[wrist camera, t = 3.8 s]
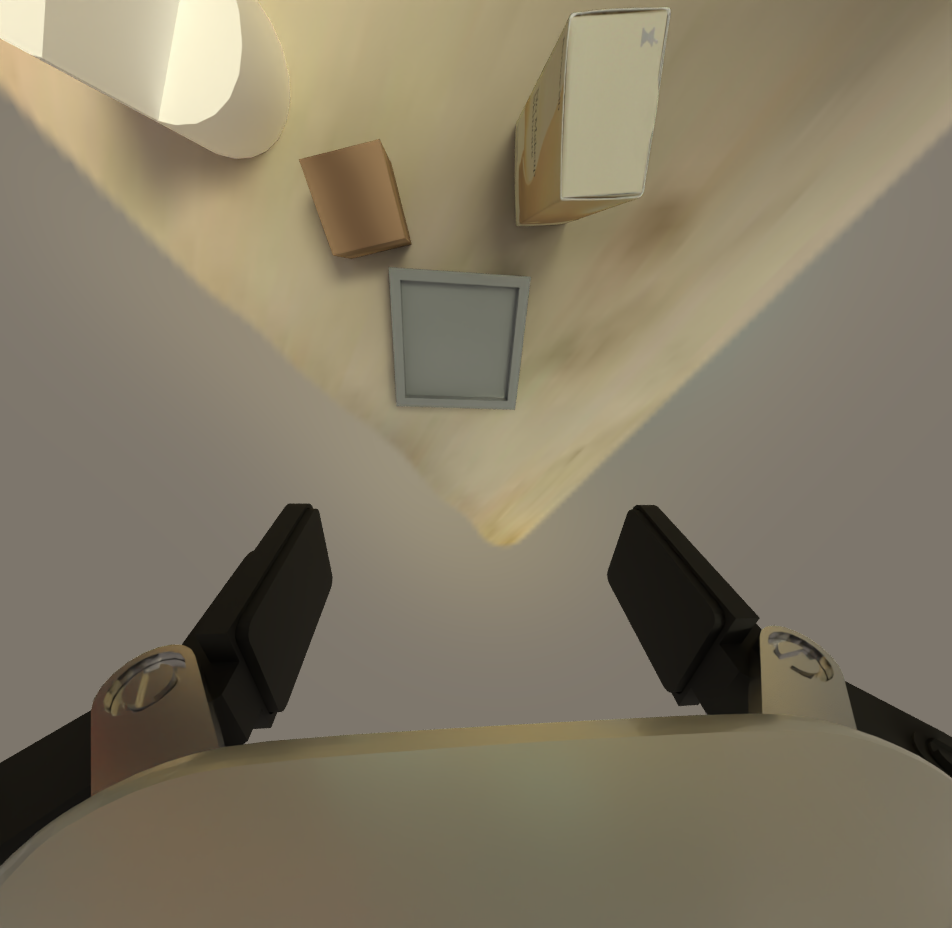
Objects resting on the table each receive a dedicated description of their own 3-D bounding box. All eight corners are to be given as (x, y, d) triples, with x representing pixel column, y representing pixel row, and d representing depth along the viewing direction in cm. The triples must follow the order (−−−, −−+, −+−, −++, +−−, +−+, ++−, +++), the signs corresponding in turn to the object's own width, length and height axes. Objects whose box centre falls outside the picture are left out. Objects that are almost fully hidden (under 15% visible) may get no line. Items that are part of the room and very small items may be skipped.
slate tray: (525, 276, 28) (530, 276, 27) (511, 402, 34) (515, 409, 32) (392, 267, 27) (388, 267, 26) (399, 398, 33) (396, 406, 31)
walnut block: (391, 163, 24) (379, 139, 20) (411, 244, 27) (404, 237, 23) (325, 180, 25) (298, 159, 20) (351, 258, 27) (332, 255, 23)
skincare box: (513, 122, 24) (567, -5, 13) (574, 118, 24) (676, -9, 13) (514, 232, 27) (558, 202, 16) (568, 228, 27) (646, 197, 16)
